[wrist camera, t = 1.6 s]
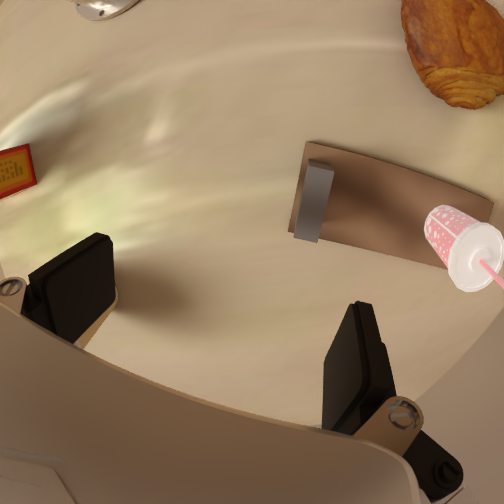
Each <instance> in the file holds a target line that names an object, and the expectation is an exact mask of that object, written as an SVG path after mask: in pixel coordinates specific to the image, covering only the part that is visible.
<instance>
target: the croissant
mask: <svg viewBox="0 0 504 504" xmlns="http://www.w3.org/2000/svg"><path fill="white" fill-rule="evenodd" d="M401 1H402V8H401V19H402V27H403V29H404V32H405V35H406V37H405V42H406V43H407V50H408V53H409V55H410V58H411V61H412V64H413V66H414V68H415V70H416V72H417V74H418V75H419V76H420V78H421V81H422V82H423V83H424V84H425V87H427V88H429V89H430V91H431V93H432V94H434V95H435V96H436V97H438V98H441V99H443V100H445V102H446V103H447V104H448V105H450V106H451V107H458V106H460V107H462V108H466V109H474V110H475V109H478V108H482V107H484V106H485V105H486V104H490V103H491V102H493V101H494V99H495V97H496V96H500V95H501V94H503V95H504V19H503V18H502V17H501V16H500V14H499V13H498V11H497V10H496V9H495V8H494V7H493V6H491V5H490V4H489V3H488V2H486V1H485V0H401Z"/></svg>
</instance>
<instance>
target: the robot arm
mask: <svg viewBox="0 0 504 504" xmlns="http://www.w3.org/2000/svg"><path fill="white" fill-rule="evenodd" d="M68 1H71V2H74V3H75V7H76V10H77V12H78V14H79V15H80V16H81V17H84V18H86V19H89V20H93V21H101V20H107V19H109V18H112V17H115V16H117V15H119V14H121V13H123V12H124V11H126V10H127V9H129V8H130V7H132V6H133V5H134V4H135V3H136V2H138V1H139V0H68ZM28 277H29V282H30V284H29V285H27V284H26V282H25V280H24V279H23V278H20V277H9V278H6V279H4V280H2V281H1V282H0V504H479V503H478V501H477V500H476V498H475V497H474V495H473V494H472V492H471V490H470V489H469V488H468V486H465V487H463V486H462V484H461V483H462V481H463V469H462V467H461V465H460V463H459V462H458V461H457V460H456V459H455V458H454V457H453V456H452V455H451V454H449V453H448V452H447V451H445V450H444V449H443V448H442V447H441V446H440V445H438V444H437V443H436V442H435V441H434V440H433V439H431V438H430V437H429V436H428V435H427V434H425V433H424V432H423V431H422V430H421V428H422V426H423V423H424V417H423V414H422V411H421V409H420V408H419V406H418V405H417V404H416V403H415V402H414V401H412V400H410V399H408V398H406V397H402V396H397V395H396V390H395V385H394V380H393V375H392V371H391V366H390V362H389V358H388V353H387V349H386V346H385V344H384V343H383V342H381V337H380V333H379V329H378V325H377V322H376V318H375V314H374V310H373V307H372V304H369V303H365V302H360V301H356V302H355V304H350V305H349V306H348V309H347V311H346V313H345V316H344V318H343V320H342V323H341V325H340V327H339V329H338V331H337V334H336V336H335V338H334V340H333V342H332V345H331V347H330V349H329V351H328V353H327V355H326V357H325V361H324V376H323V410H322V429H320V428H315V427H310V426H305V425H300V424H295V423H290V422H286V421H281V420H277V419H273V418H268V417H264V416H260V415H256V414H252V413H248V412H245V411H241V410H237V409H233V408H230V407H226V406H223V405H220V404H216V403H213V402H210V401H207V400H204V399H200V398H197V397H194V396H191V395H189V394H186V393H183V392H180V391H177V390H174V389H172V388H169V387H166V386H164V385H161V384H158V383H156V382H153V381H151V380H148V379H146V378H143V377H141V376H139V375H136V374H134V373H132V372H129V371H127V370H125V369H122V368H120V367H118V366H116V365H114V364H111V363H109V362H107V361H105V360H103V359H101V358H99V357H97V356H95V355H93V354H91V353H89V352H87V351H85V350H83V349H81V348H79V347H77V346H75V345H73V344H74V343H75V342H76V341H77V340H78V339H79V338H80V337H81V336H82V334H83V333H84V332H85V331H86V330H87V329H88V328H89V327H90V326H91V325H92V324H93V323H94V322H95V321H96V320H97V319H98V318H99V317H100V316H101V315H102V314H103V313H104V312H105V311H106V310H107V309H108V308H109V307H110V306H111V305H112V304H113V303H114V301H115V298H116V291H115V277H114V260H113V242H112V241H111V240H110V237H109V236H108V235H105V234H101V233H98V232H96V233H94V234H92V235H90V236H89V237H87V238H85V239H84V240H82V241H80V242H79V243H77V244H76V245H74V246H72V247H71V248H69V249H67V250H66V251H64V252H63V253H61V254H59V255H58V256H56V257H55V258H53V259H52V260H50V261H49V262H47V263H46V264H44V265H42V266H41V267H39V268H38V269H36V270H35V271H34V272H32V273H31V274H29V275H28Z"/></svg>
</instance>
